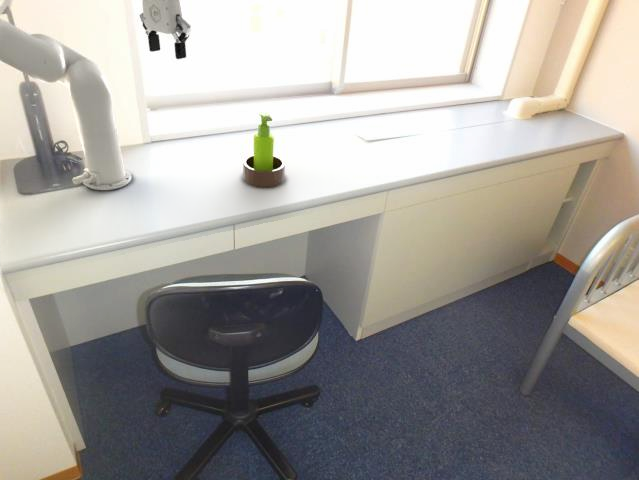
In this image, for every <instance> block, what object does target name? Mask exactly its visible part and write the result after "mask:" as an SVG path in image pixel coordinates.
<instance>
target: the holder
mask: <svg viewBox="0 0 639 480" xmlns="http://www.w3.org/2000/svg"><path fill="white" fill-rule="evenodd" d="M242 166H243V167H242V171H243V172H242V173H243V174H242V175H243V176H242V177H243V181H244V182H245V183H246V184H247V185H249V186H251V187H254V188H258V189H259V188H260V189H271V188H276V187H278V186H281V185H282V184H283V183H284V181H285V171H286V170H285V169H286V162H285V161H284V159H283V158H282V157H280V156H277V155H274V154H273V170H270V171H261V170H255V169H254V154H250V155H249V156H246V157H245V158H244V159H243V163H242Z"/></svg>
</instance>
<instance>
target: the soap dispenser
mask: <svg viewBox="0 0 639 480" xmlns="http://www.w3.org/2000/svg"><path fill="white" fill-rule="evenodd" d="M259 116H260V123H258V125H257V133H255V134H254V135H253V155H254V169H255V170H261V171H270V170H273V155H274V147H275V145H274V142H275V141H274V140H275V137H274V134H272V133H270V132H271V131H270V130H271V125H270V124H269V123H268V122H272V121H273V118H272V117H271V115H270V114H268V113H267V112H259Z"/></svg>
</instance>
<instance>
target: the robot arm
mask: <svg viewBox="0 0 639 480" xmlns="http://www.w3.org/2000/svg"><path fill="white" fill-rule="evenodd" d="M183 13H184V12H183V7H182V1H181V0H142V12H141V13H140V14H139V18H140V21H141V24H142V27H143V29H144V30H145V34H146V36H147V41H148V48H149V49H148V50H149V52H151V53H153V52H158V51H160V50H161V42H160V35H159V34H158V33H162V34H166V35H172V37H173V39H174V40H175V42H174V43H173V44H174V53H175V54H174V56H175V59H176V60H181V59H186V58H187V48H186V46H187V45H186V43H187V42H188V38H189V37H190V33H191V29H192V26H191V25H190V24H189V23H188V22H187V21H186V20H185V19H184V15H183ZM0 62H2V63H4V64H6V65H8V66H10V67H12V68H14V69H16V70H18V71H19V72H21V73H23V74H25V75H27V76H29V77H31V78H32V79H34V80H37V81H38V82H41V83H44V84H54V83H59V84H61V85H63V86H64V87H67V89H68V93H69V98H70V101H71V105H72V106H71V107H72V110H73V114H74V115H73V116H74V118H75V123H76V127H77V132H78V136H79V140H80V144H81V147H82V152H83V156H84V157H83V158H84V161H85V165H86V168H83V172H82V173H81V174H80V175H78V176H74V177H72V178H71V181H72V183H73V184H74V185H75V186H76V185H79V184H81V183H82V184H83V185H84V186H86V187H87V188H89V189H92V190H95V191H112V190H113V191H114V190H118V189H120V188H123V187H125V186H126V185H128V184H130V182H131V181H132V174H131V172H130V171H129V170H128V169H125V166H124V160H123V154H122V148H121V145H120V143H121V142H120V138H119V133H118V127H117V122H116V116H115V109H114V102H113V93H112V87H111V85H110V83H109V81H108V79H107V77H106V75H105V74H104V72H103V70H102V69H101V67H100V66H99V65H98V64H97V63H95V62H94V61H93V60H91V59H90V58H88V57H86V56H84V55H82V54H81V53H79V52H77V51H76V50H74V49H72V48H70V47H69V46H67V45H65V44H64V43H62V42H61V41H58V40H56V39H55V38H53V37H51V36H49V35H45V34H43V33H33V34H32V33H31V34H30V33H27V32H26V31H25V30H22V29H20V28H19V27H17V26H16V25H14V24H12V23H11V22H9V21H7V20H5V19H2V18H0Z"/></svg>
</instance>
